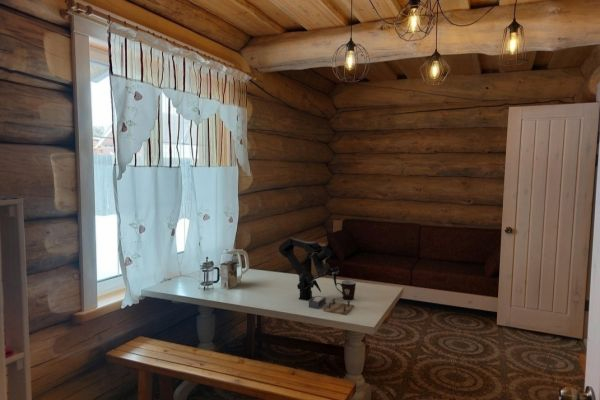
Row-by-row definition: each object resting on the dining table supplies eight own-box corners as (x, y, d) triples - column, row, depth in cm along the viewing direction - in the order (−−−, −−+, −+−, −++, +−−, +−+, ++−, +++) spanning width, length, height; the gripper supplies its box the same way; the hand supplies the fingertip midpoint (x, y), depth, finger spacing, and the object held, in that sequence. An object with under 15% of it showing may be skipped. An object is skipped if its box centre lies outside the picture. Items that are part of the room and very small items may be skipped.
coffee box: (230, 284, 270) (229, 260, 269) (237, 285, 267) (237, 261, 265) (220, 287, 262) (220, 263, 261) (228, 289, 259) (227, 264, 257)
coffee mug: (358, 298, 243) (358, 282, 241) (349, 302, 237) (349, 285, 236) (343, 293, 251) (343, 278, 250) (334, 297, 245) (334, 281, 244)
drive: (308, 307, 228) (308, 300, 228) (316, 302, 237) (316, 295, 237) (318, 309, 225) (318, 302, 225) (325, 304, 234) (325, 297, 234)
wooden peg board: (323, 311, 222) (323, 304, 222) (332, 303, 235) (332, 296, 234) (346, 315, 217) (346, 308, 216) (354, 306, 229) (354, 299, 229)
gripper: (303, 266, 224) (313, 293, 219) (335, 255, 226) (345, 281, 221) (303, 269, 234) (312, 295, 230) (333, 258, 236) (343, 284, 232)
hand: (328, 289), depth 228 cm, fingers open, 9 cm apart
